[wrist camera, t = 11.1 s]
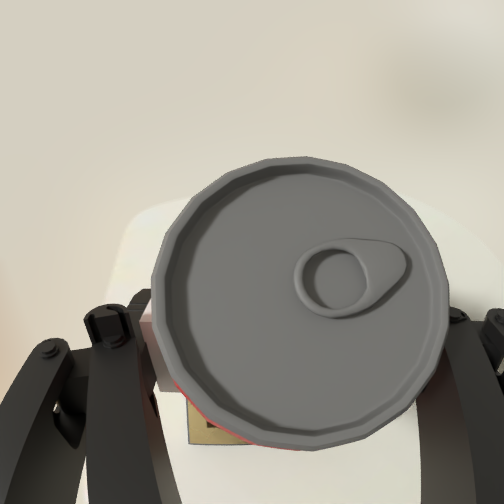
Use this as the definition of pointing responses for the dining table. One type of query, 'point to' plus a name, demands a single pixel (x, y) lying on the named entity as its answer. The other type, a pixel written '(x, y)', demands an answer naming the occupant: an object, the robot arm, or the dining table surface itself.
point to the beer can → (299, 304)
